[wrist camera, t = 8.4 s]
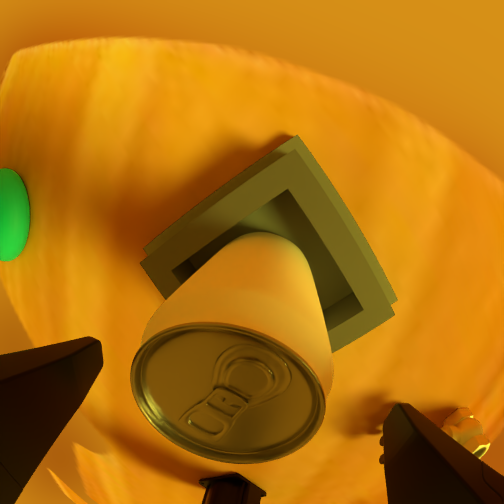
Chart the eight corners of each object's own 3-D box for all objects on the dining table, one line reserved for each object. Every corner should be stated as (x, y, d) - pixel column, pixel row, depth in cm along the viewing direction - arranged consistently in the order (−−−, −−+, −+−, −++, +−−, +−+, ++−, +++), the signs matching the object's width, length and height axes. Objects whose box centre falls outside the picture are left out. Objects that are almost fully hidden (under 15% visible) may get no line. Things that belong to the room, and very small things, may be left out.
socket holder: (248, 376, 21) (241, 408, 17) (149, 245, 20) (120, 258, 16) (393, 295, 18) (413, 317, 15) (296, 137, 17) (299, 123, 13)
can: (331, 267, 18) (391, 387, 6) (274, 339, 19) (255, 487, 8) (247, 210, 18) (169, 249, 6) (196, 289, 19) (98, 402, 7)
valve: (480, 395, 20) (404, 395, 20) (505, 430, 13) (426, 444, 14) (451, 436, 21) (373, 439, 22) (468, 472, 15) (384, 487, 15)
